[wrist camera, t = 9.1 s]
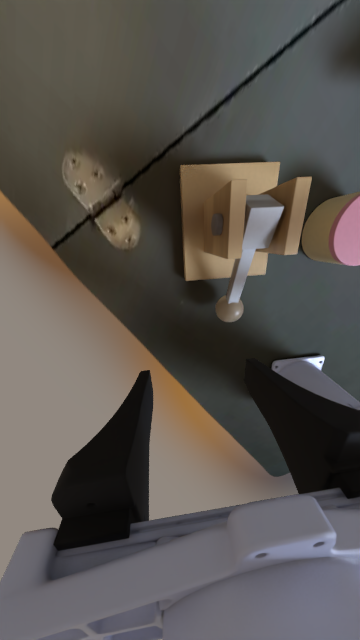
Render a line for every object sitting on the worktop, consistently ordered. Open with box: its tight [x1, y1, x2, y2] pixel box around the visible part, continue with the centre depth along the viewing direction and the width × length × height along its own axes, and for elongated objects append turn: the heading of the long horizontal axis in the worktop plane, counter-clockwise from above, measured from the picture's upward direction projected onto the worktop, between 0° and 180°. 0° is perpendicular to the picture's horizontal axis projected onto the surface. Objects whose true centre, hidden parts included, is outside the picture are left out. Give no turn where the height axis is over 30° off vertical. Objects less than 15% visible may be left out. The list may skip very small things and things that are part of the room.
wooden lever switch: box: [179, 162, 312, 281], centre depth 15 cm, size 10×9×8 cm
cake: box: [302, 192, 360, 266], centre depth 18 cm, size 6×6×4 cm
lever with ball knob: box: [215, 194, 284, 322], centre depth 17 cm, size 12×3×3 cm, turn 3°
